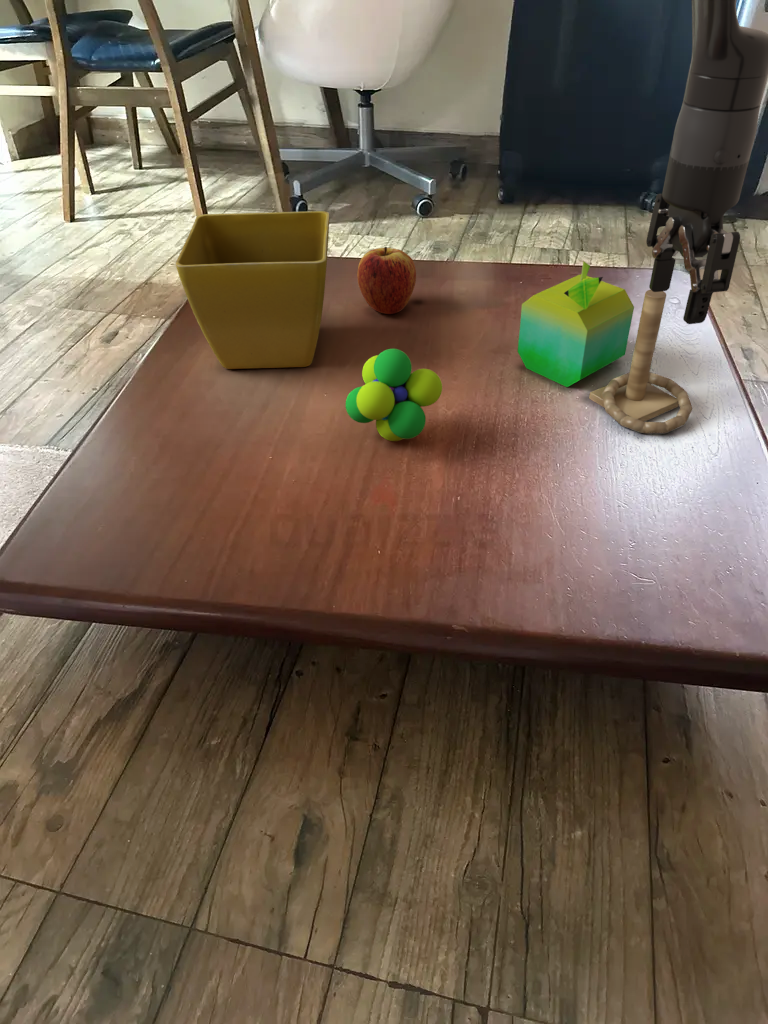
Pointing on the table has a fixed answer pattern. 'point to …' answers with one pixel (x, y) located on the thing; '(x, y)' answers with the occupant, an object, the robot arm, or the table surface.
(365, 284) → the apple
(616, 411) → the ring
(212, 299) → the flower pot
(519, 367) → the table surface
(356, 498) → the table surface
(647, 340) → the post
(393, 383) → the molecule model
